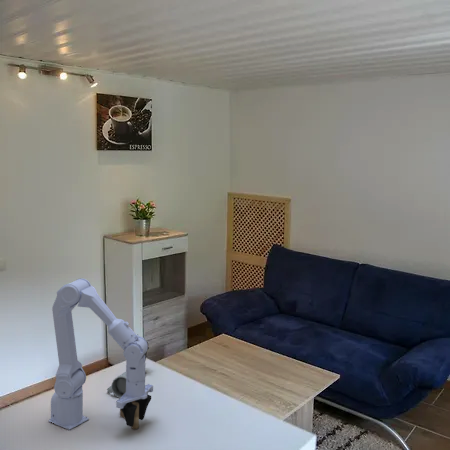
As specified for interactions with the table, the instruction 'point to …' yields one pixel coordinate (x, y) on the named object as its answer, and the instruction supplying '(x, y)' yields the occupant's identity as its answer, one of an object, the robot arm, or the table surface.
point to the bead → (122, 412)
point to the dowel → (136, 417)
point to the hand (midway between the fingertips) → (135, 422)
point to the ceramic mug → (118, 386)
